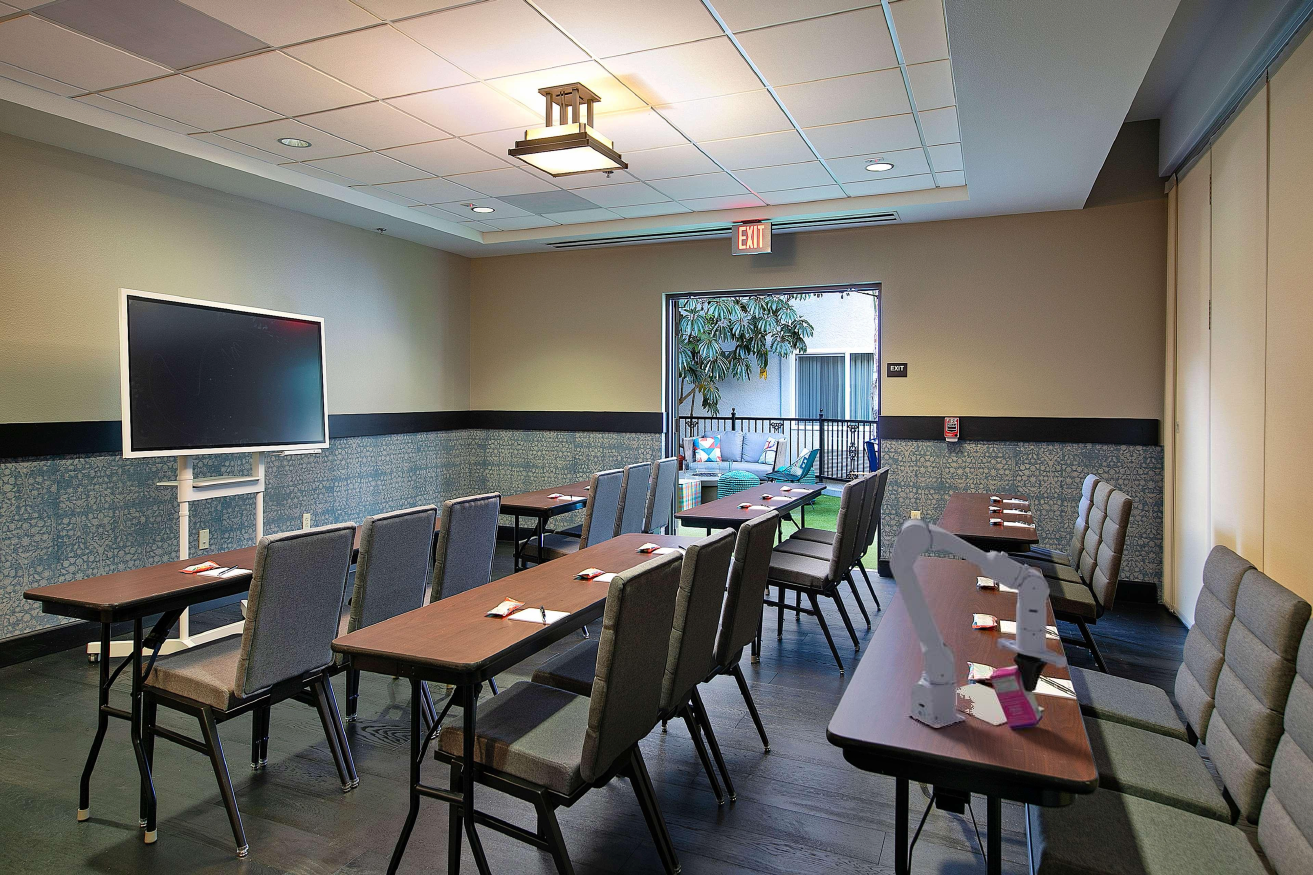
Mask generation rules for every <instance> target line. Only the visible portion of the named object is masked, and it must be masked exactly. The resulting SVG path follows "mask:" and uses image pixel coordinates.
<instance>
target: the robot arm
mask: <svg viewBox="0 0 1313 875" xmlns="http://www.w3.org/2000/svg"><path fill="white" fill-rule="evenodd" d="M929 547H930V550H931V552H933V551H934V552H935V551H943V550H945V551H948V552H950V553H952V554H954V555H956V556H958V557H960V558H962V559H964V560H967V561H968V562H970V563H973V564H975V565H977V566H979V568H980V570H981V574H982V575H983V576H985V577H987V578H989V579H991V580H992V581H994V582H997V583H998V584H1000V585H1002V586H1004V587H1006V588H1008V589H1010V590H1015V591H1018V592H1017V604H1016V609H1015V610H1016V618H1015V619H1016V622H1015V625H1016V626H1015V640H1014V639H1010V638H1006V637H1002V638H998V639H997V648H998V649H1000V650H1008V651H1010V652H1013V653H1016V656H1013V662H1014V663H1015V666H1017V667H1018V669H1019V671H1020V674H1021V676H1022V680H1023V683H1024V687H1025V691H1028V692H1032V693H1033V692H1035V691H1036V690H1037V686H1038V682H1039V678H1040V676H1041V674H1042V672H1043V670H1044V669H1045V667H1047V665H1048V664H1051V665H1055V667H1057V668H1059V669H1060V668H1061V669H1062V668H1064V667H1067V657H1066V656H1064V655H1061V654H1059V653H1058V652H1055V651H1053V650H1050V648H1047V608H1048V607H1047V598H1048V596H1049V594H1050V593H1051V592H1050V591H1051V589H1050V588H1049V584H1048V581H1047V580H1046V579H1045V577H1044V576H1043V574H1041V572H1039V571H1038V570H1037V569H1036V568H1033V567H1030V566H1029V564H1026V563H1024V565H1023V564H1022V563H1019V562H1017V561H1015V560H1013V559H1012V558H1010V557H1009V554H1008V553H1006V552H1004V551H1001V552H998V551H996V550H995V551H991V552H985V551H984V550H981V549H980V548H978V547H976V546H974V545H972V544H971V543H969V542H967V541H966V540H964V539H962V538H960V537H959V536H957V535H955V534H953V533H951V532H949V531H948V530H946V529H943V528H942V527H940V526H938V525H935V524H933V523H931V522H930V523H927V522H926V520H925V521H924V520H923V519H921V518H916V517H915V518H914V517H913V518H909V519H906V521H904V522H903V524H902V525H901V527H900V528H899V530H898V531H897V532H896V537H895V539H894V543H893V548H892V552H891V555H890V559H889V568H890V571H891V574H892V575H893V576H892V577H893V578H894V580H895V583H896V586H897V587H898V588H897V589H898V591H899V594H900V596H901V598H902V602H903V603H904V605H905V608H906V610H907V613H908V616H909V618H910V621H911V623H912V625H913V628H914V631H915V634H916V636H917V638H918V641H919V645H920V649H921V652H922V655H923V657H924V671H922V672H921V673H922V674H921V678H920V680H919V681H918V682H916V683H914V685H912V686H911V690H910V692H911V695H910V696H911V699H910V701H911V702H910V706H911V707H910V709H911V710H910V713H911V715H913V716H915V717H917V718H919V719H921V720H923V721H925V722H927V723H929V724H931V725H935V724H940V725H941V726H943V725H946V724H950V723H954V722H957V723H959V722H958V721H961V722H963V720H964V721H966V717H964V716H962V715H959V714H958V713H957V710H956V705H957V688H958V687H957V686H958V682H957V680H958V678H957V676H956V672H957V669H956V665H955V655H954V652H953V649H952V648H951V647H950V646H949V645H948V644H946V642H945V640H944V639H943V636H942V634H941V632H940V631H939V628H938V626H937V623H936V620H935V618H934V617H933V613H932V611H931V609H930V606H929V603H928V600H927V599H926V596H925V593H924V591H923V588H922V585H921V583H920V581H919V578H918V575H917V574H916V571H915V569H914V565H915V563H916V562H917V560H918V558H919V556H920V555H922V554H923V553H924V552H925V551H927V549H928V548H929ZM942 723H943V725H942ZM954 724H955V723H954Z"/></svg>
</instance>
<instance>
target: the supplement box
mask: <svg viewBox="0 0 1313 875" xmlns="http://www.w3.org/2000/svg"><path fill="white" fill-rule="evenodd" d="M988 677H989V680H990V682H991V684H992V687H993V689H994V690H995V692H996V695H997V697H998V700H999V702H1000V705H1001V707H1002V710H1003V712H1004V715H1005V717H1006V719H1007V724H1008V727H1009V729H1011V730H1013V729H1020V728H1027V727H1028V728H1029V727H1037V726H1038V725H1039V723H1040V722H1041V720H1042V719H1043V717H1044V716H1043V715H1042V711H1040V710H1039V707H1040V706H1039V707H1038V703H1037V700H1036V698H1035V695H1034V692H1033V691H1032V692H1028V691H1025V687H1024V683H1023V680H1022V676H1021V674H1020V671H1019V669H1018V667H1017V665H1014V666H1013V665H1012V666H1008V667H1001V668H997V669H995V670H994V671H993V672H992V673H991V675H990V676H988Z"/></svg>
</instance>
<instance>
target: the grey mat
mask: <svg viewBox="0 0 1313 875" xmlns="http://www.w3.org/2000/svg"><path fill="white" fill-rule="evenodd" d="M975 683H976V684H973V683H971V684H967V685H964V686H963V685H962V686H960V688H961V690H960V689H959V687H957V688H958V689H959V690H957V693H960V696H961V697H962V698H963V696H962V695H965V699H970V698H971V700H972V701H973V702H975V703H971V704H972V705H973V706H974V707H973V708H974V709H973V708H972V710H970V711H972V712H970V713H973V715H975V717H977V718H979V719H981V720H980V721H982V720H984V721H986V722H989V723H990V724H989V723H988V724H989V725H991V724H993V725H995V726H994V727H997V726H996V725H998V726H999V724H1001V725H1004V724H1007V723H1008V722H1007V719H1006V717H1005V715H1004V712H1003V710H1002V707H1001V705H1000V702H999V700H998V697H997V695H996V692H995V690H994V688H991V687H988V686H986V685H982V684H981V683H977V682H975ZM961 694H962V695H961ZM969 696H970V698H969ZM972 705H971V707H972ZM1038 707H1039V710H1040V712H1042V711H1045V708H1043V707H1041V706H1038ZM965 711H968V712H966V713H969V709H967V710H965ZM975 717H974V718H975ZM977 718H976V719H977ZM979 719H978V720H979ZM984 721H983V722H984ZM986 722H985V723H986ZM1006 722H1007V723H1006ZM1003 723H1004V724H1003ZM993 725H992V726H993Z"/></svg>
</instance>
